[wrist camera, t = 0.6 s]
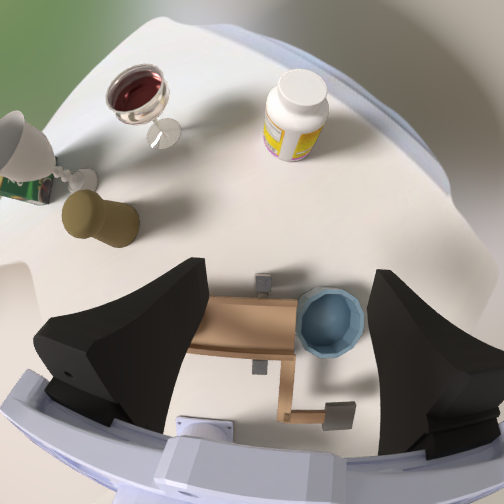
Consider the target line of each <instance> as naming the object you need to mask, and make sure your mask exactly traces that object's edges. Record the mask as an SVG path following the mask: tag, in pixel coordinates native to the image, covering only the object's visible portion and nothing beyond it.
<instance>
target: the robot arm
mask: <svg viewBox="0 0 504 504" xmlns="http://www.w3.org/2000/svg"><path fill="white" fill-rule="evenodd" d="M208 300H209V289H208V282H207V274H206V266H205V258H194V257H191V258H189V259H187V260H185V261H184V262H182V263H181V264H179V265H177V266H176V267H174V268H173V269H171V270H170V271H168V272H167V273H165V274H163V275H162V276H160V277H159V278H157V279H155V280H154V281H152V282H150V283H149V284H147V285H145V286H143V287H142V288H140V289H138V290H136V291H134V292H132V293H130V294H128V295H126V296H124V297H122V298H119V299H117V300H115V301H112V302H109V303H107V304H104V305H101V306H99V307H96V308H92V309H89V310H86V311H82V312H78V313H74V314H69V315H63V316H58V317H51V318H50V319H49V320H48V321H47V322H46V323H45V325H44V326H43V327H42V328H41V329H40V330H39V331H38V333H37V334H36V335H35V336H34V338H33V342H34V347H35V349H36V352H37V353H38V355H39V357H40V358H41V360H42V361H43V363H44V364H45V366H46V367H47V369H48V370H49V371H50V373H51V374H52V375H53V378H52V380H51V381H50V382H49V381H48V380H47V379H46V378H44V377H43V376H41V375H39V374H37V373H36V372H34V371H32V370H30V369H27V370H26V371H25V373H24V374H23V375H22V376H21V378H20V379H19V381H18V382H17V383H16V385H15V386H14V388H13V389H12V390H11V392H10V393H9V395H8V396H7V398H6V399H5V400H4V402H3V403H2V405H1V406H0V412H1V413H2V414H3V415H4V416H5V417H6V418H7V419H8V420H9V421H10V422H11V423H12V424H13V425H14V426H15V427H16V428H18V429H19V430H20V431H21V432H22V433H23V434H24V435H25V436H26V437H28V438H29V439H30V440H31V441H32V442H33V443H35V444H36V445H38V446H39V447H40V448H42V449H43V450H45V451H46V452H48V453H49V454H51V455H52V456H54V457H55V458H57V459H58V460H60V461H61V462H63V463H64V464H66V465H68V466H69V467H71V468H72V469H74V470H76V471H77V472H79V473H81V474H83V475H84V476H86V477H88V478H90V479H92V480H93V481H95V482H97V483H99V484H101V485H103V486H105V487H107V488H109V489H111V490H113V491H115V492H116V494H115V497H114V499H113V502H112V504H470V503H472V502H474V501H477V500H479V499H482V498H484V497H486V496H488V495H491V494H493V493H495V492H497V491H499V490H500V489H502V488H504V421H503V422H501V423H500V424H498V422H497V417H499V415H500V410H499V407H498V406H499V405H500V404H501V403H502V402H503V400H504V351H502V350H500V349H497V348H495V347H492V346H490V345H488V344H486V343H484V342H482V341H480V340H478V339H476V338H474V337H473V336H471V335H469V334H468V333H466V332H464V331H463V330H461V329H459V328H458V327H456V326H455V325H453V324H452V323H451V322H449V321H448V320H446V319H445V318H444V317H442V316H441V315H440V314H439V313H437V312H436V311H435V310H434V309H432V308H431V307H430V306H429V305H428V304H427V303H425V302H424V301H423V300H422V299H421V298H420V297H419V296H418V295H417V294H416V293H415V292H414V291H412V290H411V289H410V288H409V287H408V286H407V285H406V284H405V283H404V282H403V281H402V280H401V279H400V278H399V277H398V276H397V275H396V274H394V273H393V272H392V271H391V270H382V269H377V270H376V274H375V278H374V282H373V287H372V291H371V294H370V298H369V302H368V306H367V314H368V325H369V331H370V336H371V340H372V345H373V349H374V354H375V358H376V363H377V368H378V374H379V383H380V407H381V419H380V440H379V451H378V456H370V457H353V458H342V457H340V456H337V455H335V454H332V453H328V452H318V451H309V450H290V449H277V448H267V447H258V446H250V445H243V444H236V443H233V422H231V421H221V420H208V419H198V418H189V417H180V416H178V417H176V430H177V437H170V436H167V435H163V432H164V427H165V422H166V417H167V413H168V409H169V405H170V401H171V397H172V393H173V390H174V387H175V383H176V380H177V377H178V374H179V371H180V367H181V364H182V362H183V359H184V357H185V354H186V352H187V350H188V348H189V346H190V344H191V342H192V340H193V338H194V336H195V333H196V331H197V329H198V327H199V325H200V323H201V321H202V319H203V316H204V313H205V310H206V307H207V304H208ZM178 422H181V423H178ZM229 426H230V427H231V428H228V427H229Z"/></svg>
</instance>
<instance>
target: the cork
mask: <svg viewBox="0 0 504 504" xmlns="http://www.w3.org/2000/svg"><path fill="white" fill-rule="evenodd" d="M62 222H63V224H64V227H65V229H66V231H67V232H68V233H69V234H70V235H72V236H74V237H76V238H81V239H86V238H89V237H93V238H95V239H97V240H99V241H102V242H104V243H106V244H108V245H110V246H112V247H116V248H122V247H125V246H127V245H129V244H130V243H131V242H132V241H133V240H134V239H135V237H136V236H137V233H138V231H139V217H138V214H137V212H136V210H135V209H134V208H133V207H132V206H130V205H128V204H125V203H120V202H114V201H108V200H103V199H102V198H101V197H100V196H99V195H98V194H97V193H96V192H94V191H91V190H89V189H85V190H78V191H76V192H74V193H73V194H72V195H70V196H69V197H68V199H67V200H66V201H65V203H64V206H63V209H62Z"/></svg>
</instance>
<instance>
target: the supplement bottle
mask: <svg viewBox="0 0 504 504" xmlns="http://www.w3.org/2000/svg"><path fill="white" fill-rule="evenodd" d="M326 96H327V86H326V84H325V82H324V81H323V79H322V78H321V77H320V76H319V75H317V74H315V73H314V72H312V71H309V70H305V69H293V70H289V71H287V72H286V73H284V74H283V75H282V76H281V78H280V79H279V83H278V84H277V85H276V86H275V87H274V88H273V89H272V90H271V91H270V92H269V94H268V97H267V101H266V111H265V122H264V135H263V137H264V144H265V146H266V148H267V150H268V151H269V152H270V153H271V154H272V155H273V156H274V157H276V158H278V159H280V160H283V161H289V162H292V161H298V160H301V159H303V158H304V157H306V156H307V155H308V154H309V153H310V151H311V150H312V148H313V146H314V144H315V142H316V140H317V138H318V136H319V134H320V132H321V130H322V128H323V126H324V124H325V122H326V120H327V117H328V114H329V105H328V101H327V99H326Z"/></svg>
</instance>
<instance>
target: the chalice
mask: <svg viewBox="0 0 504 504" xmlns="http://www.w3.org/2000/svg"><path fill="white" fill-rule="evenodd" d="M51 173H53V174H54V177H55V178H58V177H61V180H62V182H67V181H68V189H69V191H70V193H71V194H73V193H74V192H76V191H78V190H85V189H89V190H91V191H94V192H95V190H96V188H97V183H98V178H97V175H96V172H95V171H94V170H92V169H90V168H85V169H79V170H76V171H75V172H73V173H72V174H71V171H70V170H65V171H64V170H63V167H62V166H58V167H57V166H56V159H55V156H54V153H53V150H52V147H51V145H50V143H49V141H48V139H47V137H46V136H45V135H44V134H43V133H42V132H41V131H39V130H38V129H36V128H35V127H33V126H32V125H30V124H29V123H27V122H26V121H25V119H24V115H23V114H22V113H21V112H20V111H13V112H10V113H8V114H7V115H6V116H4V117H3V118H2V119H1V120H0V175H1V176H3V177H6V178H9V179H11V180H14V181H17V182H26V181H35V180H38V179H42V178H45V177H48V176H49V175H50V174H51Z"/></svg>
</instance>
